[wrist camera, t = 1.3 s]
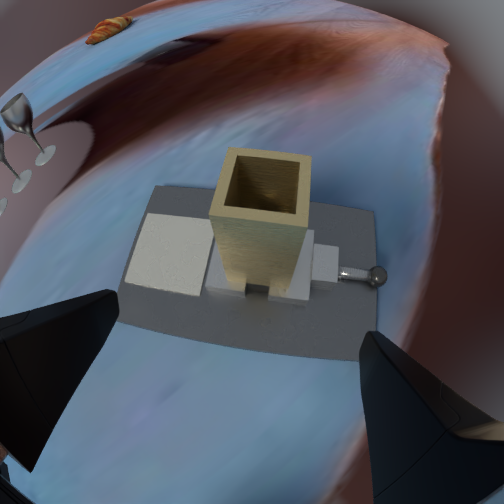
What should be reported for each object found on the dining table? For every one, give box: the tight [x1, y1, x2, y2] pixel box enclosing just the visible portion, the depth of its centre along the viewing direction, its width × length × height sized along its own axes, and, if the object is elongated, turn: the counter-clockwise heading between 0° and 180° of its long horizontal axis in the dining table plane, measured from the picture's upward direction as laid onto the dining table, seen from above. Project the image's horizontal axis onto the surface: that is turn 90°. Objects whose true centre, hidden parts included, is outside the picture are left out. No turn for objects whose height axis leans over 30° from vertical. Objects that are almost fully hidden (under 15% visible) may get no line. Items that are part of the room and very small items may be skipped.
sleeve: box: [209, 147, 311, 289], centre depth 18 cm, size 5×5×9 cm
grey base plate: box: [116, 185, 387, 361], centre depth 21 cm, size 14×23×7 cm, turn 81°
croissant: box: [85, 16, 133, 44], centre depth 57 cm, size 21×10×8 cm, turn 158°
